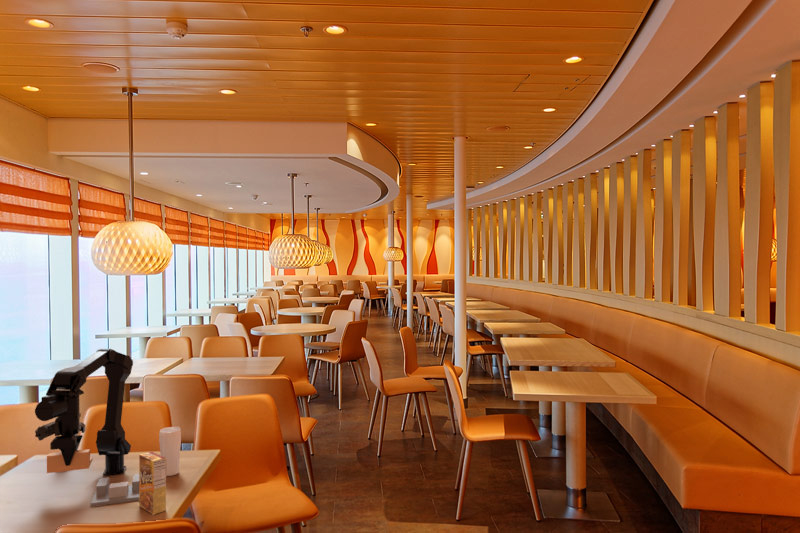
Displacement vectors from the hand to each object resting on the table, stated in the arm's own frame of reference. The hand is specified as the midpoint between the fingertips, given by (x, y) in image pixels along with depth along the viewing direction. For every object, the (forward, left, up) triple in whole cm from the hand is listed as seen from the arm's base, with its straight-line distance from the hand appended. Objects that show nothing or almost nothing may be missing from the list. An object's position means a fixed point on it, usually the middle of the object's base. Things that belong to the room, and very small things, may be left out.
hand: (69, 463), depth 173 cm
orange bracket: (-3, 0, -2) cm, 3 cm away
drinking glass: (-11, +28, -11) cm, 32 cm away
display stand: (+3, +14, -11) cm, 18 cm away
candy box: (+17, +24, -11) cm, 31 cm away
